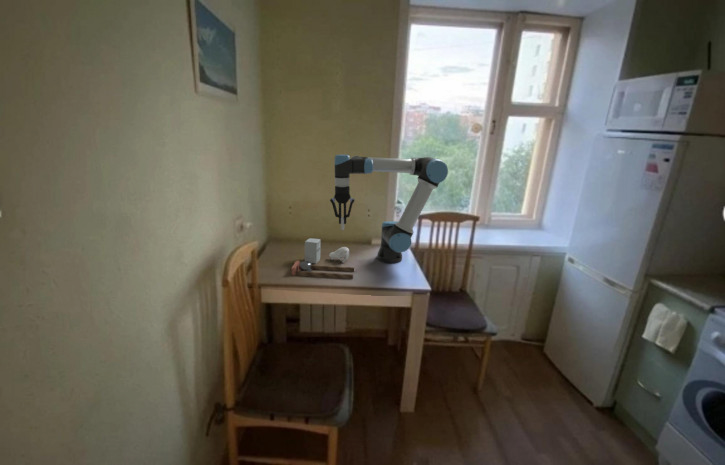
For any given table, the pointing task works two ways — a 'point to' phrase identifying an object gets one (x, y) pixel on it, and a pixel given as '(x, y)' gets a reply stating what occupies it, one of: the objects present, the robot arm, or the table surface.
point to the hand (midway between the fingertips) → (342, 229)
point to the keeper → (305, 266)
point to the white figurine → (340, 254)
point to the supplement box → (312, 250)
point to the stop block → (295, 267)
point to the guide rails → (321, 274)
